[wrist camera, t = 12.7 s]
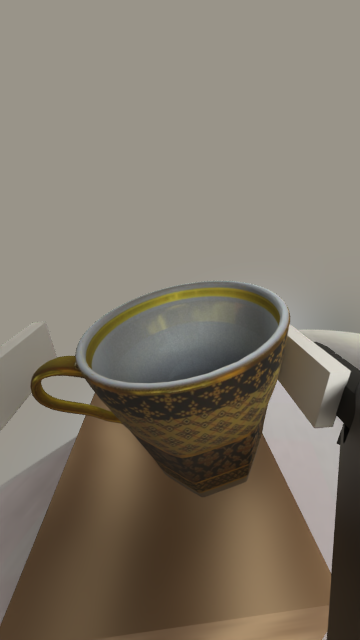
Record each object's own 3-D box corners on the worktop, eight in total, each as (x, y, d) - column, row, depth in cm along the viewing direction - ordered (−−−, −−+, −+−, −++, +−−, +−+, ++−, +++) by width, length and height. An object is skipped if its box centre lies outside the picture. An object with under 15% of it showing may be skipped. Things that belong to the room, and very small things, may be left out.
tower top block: (233, 418, 24) (236, 381, 22) (319, 643, 11) (345, 602, 9) (103, 430, 23) (94, 393, 21) (30, 688, 10) (-12, 655, 8)
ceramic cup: (241, 375, 20) (230, 270, 16) (330, 497, 11) (361, 331, 7) (102, 419, 19) (49, 318, 15) (76, 597, 10) (-84, 470, 6)
